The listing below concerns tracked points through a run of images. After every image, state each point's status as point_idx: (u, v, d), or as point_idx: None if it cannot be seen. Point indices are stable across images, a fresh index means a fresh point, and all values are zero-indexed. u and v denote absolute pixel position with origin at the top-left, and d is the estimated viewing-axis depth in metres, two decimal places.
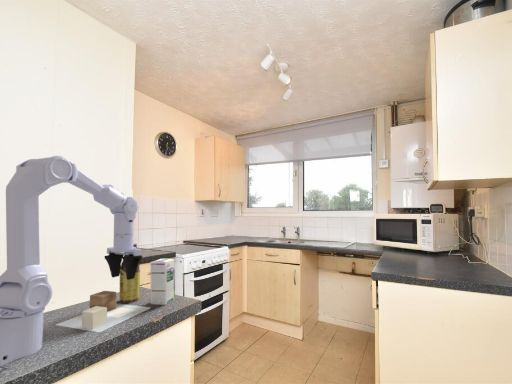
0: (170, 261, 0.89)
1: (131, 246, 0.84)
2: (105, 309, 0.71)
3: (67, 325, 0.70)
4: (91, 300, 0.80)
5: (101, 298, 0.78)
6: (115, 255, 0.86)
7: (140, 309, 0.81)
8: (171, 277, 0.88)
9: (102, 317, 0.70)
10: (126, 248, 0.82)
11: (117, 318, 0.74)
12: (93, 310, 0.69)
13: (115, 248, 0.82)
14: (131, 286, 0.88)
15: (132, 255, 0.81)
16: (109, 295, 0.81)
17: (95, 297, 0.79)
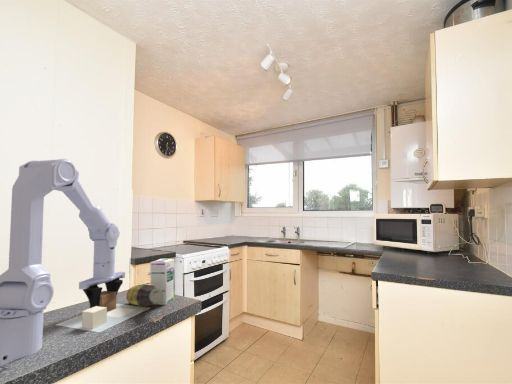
0: (170, 261, 0.89)
1: (98, 276, 0.79)
2: (105, 309, 0.71)
3: (67, 325, 0.70)
4: None
5: (101, 298, 0.78)
6: (110, 282, 0.84)
7: (140, 309, 0.81)
8: (171, 276, 0.89)
9: (102, 317, 0.70)
10: (93, 277, 0.80)
11: (117, 318, 0.74)
12: (93, 310, 0.69)
13: None
14: None
15: None
16: (109, 295, 0.81)
17: None
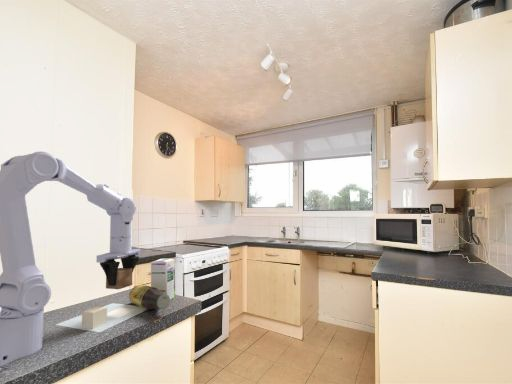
0: (170, 261, 0.89)
1: (115, 251, 0.78)
2: (105, 309, 0.71)
3: (67, 325, 0.70)
4: None
5: (118, 273, 0.77)
6: (126, 258, 0.83)
7: (140, 309, 0.81)
8: (171, 276, 0.89)
9: (102, 317, 0.70)
10: (110, 252, 0.78)
11: (117, 318, 0.74)
12: (93, 310, 0.69)
13: None
14: (138, 305, 0.84)
15: None
16: (125, 271, 0.79)
17: None
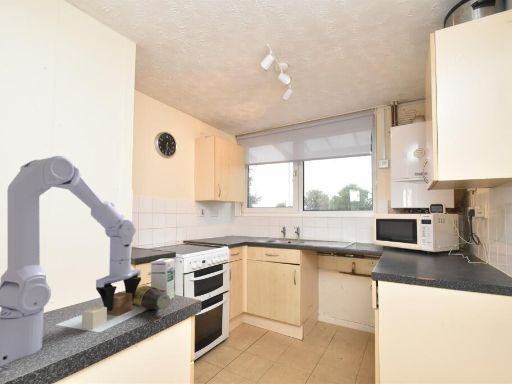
0: (170, 261, 0.89)
1: (115, 274, 0.77)
2: (105, 309, 0.71)
3: (67, 325, 0.70)
4: None
5: (117, 300, 0.76)
6: (129, 279, 0.83)
7: (140, 309, 0.81)
8: (171, 276, 0.89)
9: (102, 317, 0.70)
10: (110, 275, 0.78)
11: (117, 318, 0.74)
12: (93, 310, 0.69)
13: None
14: (138, 305, 0.84)
15: None
16: (125, 297, 0.78)
17: None
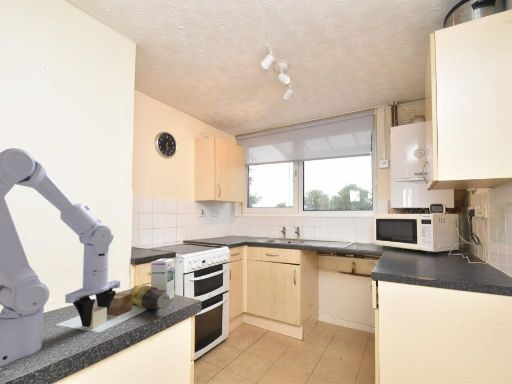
0: (170, 261, 0.89)
1: (88, 287, 0.68)
2: (105, 309, 0.71)
3: (67, 325, 0.70)
4: None
5: (117, 300, 0.76)
6: (101, 293, 0.73)
7: (140, 309, 0.81)
8: (171, 276, 0.89)
9: (102, 317, 0.70)
10: (83, 288, 0.69)
11: (117, 318, 0.74)
12: (93, 310, 0.69)
13: None
14: (138, 305, 0.84)
15: None
16: (125, 297, 0.78)
17: None
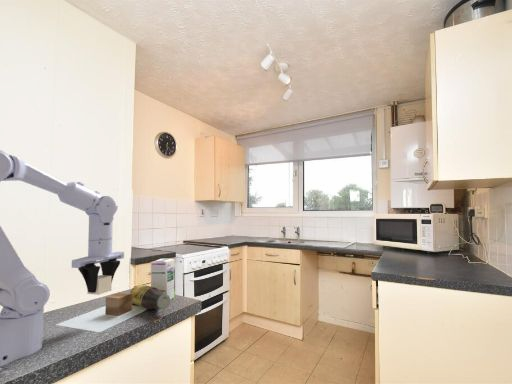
0: (170, 261, 0.89)
1: (93, 254, 0.70)
2: (110, 277, 0.73)
3: (67, 325, 0.70)
4: (107, 302, 0.78)
5: (117, 300, 0.76)
6: (106, 262, 0.75)
7: (140, 309, 0.81)
8: (171, 276, 0.89)
9: (107, 284, 0.72)
10: (88, 256, 0.71)
11: (117, 318, 0.74)
12: (98, 278, 0.71)
13: None
14: None
15: None
16: (125, 297, 0.78)
17: (111, 299, 0.77)
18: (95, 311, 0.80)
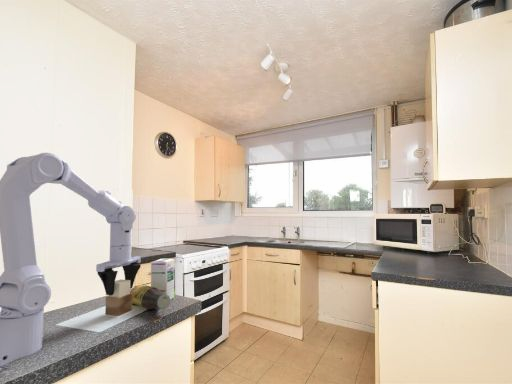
0: (170, 261, 0.89)
1: (115, 259, 0.77)
2: (129, 281, 0.80)
3: (67, 325, 0.70)
4: (107, 302, 0.78)
5: (117, 300, 0.76)
6: (128, 266, 0.83)
7: (140, 309, 0.81)
8: (171, 276, 0.89)
9: (127, 288, 0.80)
10: (110, 261, 0.78)
11: (117, 318, 0.74)
12: (118, 282, 0.79)
13: None
14: None
15: None
16: (125, 297, 0.78)
17: (111, 299, 0.77)
18: (95, 311, 0.80)
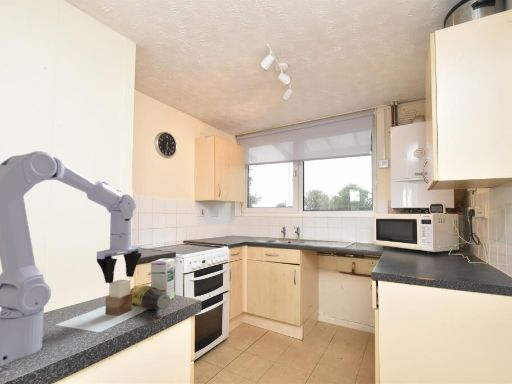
0: (170, 261, 0.89)
1: (115, 247, 0.78)
2: (129, 281, 0.80)
3: (67, 325, 0.70)
4: (107, 302, 0.78)
5: (117, 300, 0.76)
6: (129, 254, 0.84)
7: (140, 309, 0.81)
8: (171, 276, 0.89)
9: (127, 288, 0.80)
10: (110, 249, 0.78)
11: (117, 318, 0.74)
12: (118, 282, 0.79)
13: None
14: None
15: None
16: (125, 297, 0.78)
17: (111, 299, 0.77)
18: (95, 311, 0.80)
